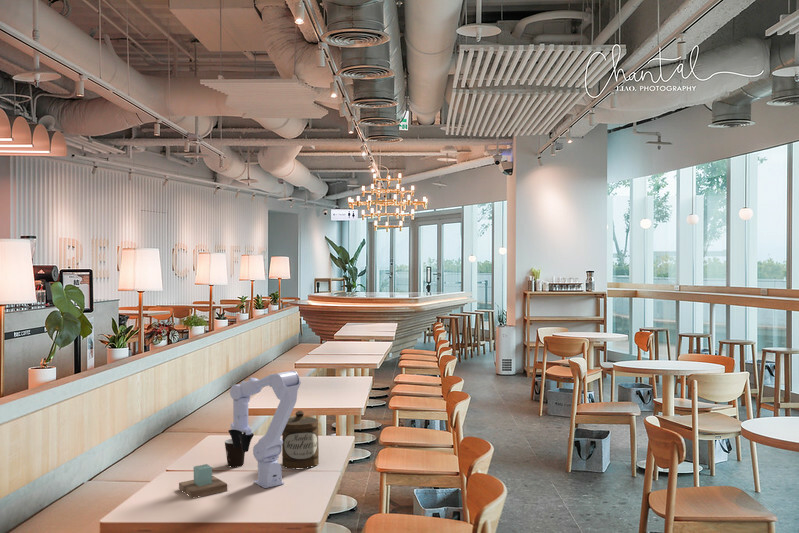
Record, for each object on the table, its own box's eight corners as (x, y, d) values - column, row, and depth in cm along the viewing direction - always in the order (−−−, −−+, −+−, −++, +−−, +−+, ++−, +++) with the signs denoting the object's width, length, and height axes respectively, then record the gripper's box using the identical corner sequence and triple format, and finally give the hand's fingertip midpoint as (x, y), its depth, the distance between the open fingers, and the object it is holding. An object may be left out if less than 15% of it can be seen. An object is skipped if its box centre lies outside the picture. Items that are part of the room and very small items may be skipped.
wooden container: (284, 471, 269) (283, 415, 270) (280, 461, 284) (280, 408, 284) (321, 467, 273) (320, 413, 274) (315, 458, 288) (315, 406, 288)
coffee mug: (243, 467, 275) (243, 443, 275) (222, 468, 275) (222, 443, 275) (250, 460, 286) (250, 436, 286) (230, 460, 286) (229, 436, 286)
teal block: (212, 483, 246) (211, 467, 246) (198, 486, 243) (198, 469, 243) (206, 480, 250) (206, 464, 250) (193, 483, 247) (193, 466, 247)
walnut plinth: (227, 490, 246) (227, 483, 246) (192, 498, 238) (192, 491, 238) (213, 482, 256) (213, 475, 256) (179, 489, 248) (179, 482, 248)
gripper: (223, 413, 266) (223, 447, 266) (239, 419, 255) (239, 455, 255) (240, 410, 271) (240, 444, 271) (256, 416, 259) (256, 452, 259)
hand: (240, 449), depth 263 cm, fingers open, 7 cm apart
